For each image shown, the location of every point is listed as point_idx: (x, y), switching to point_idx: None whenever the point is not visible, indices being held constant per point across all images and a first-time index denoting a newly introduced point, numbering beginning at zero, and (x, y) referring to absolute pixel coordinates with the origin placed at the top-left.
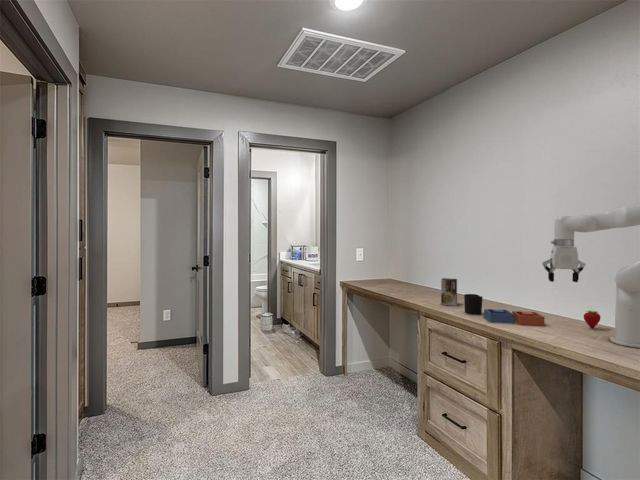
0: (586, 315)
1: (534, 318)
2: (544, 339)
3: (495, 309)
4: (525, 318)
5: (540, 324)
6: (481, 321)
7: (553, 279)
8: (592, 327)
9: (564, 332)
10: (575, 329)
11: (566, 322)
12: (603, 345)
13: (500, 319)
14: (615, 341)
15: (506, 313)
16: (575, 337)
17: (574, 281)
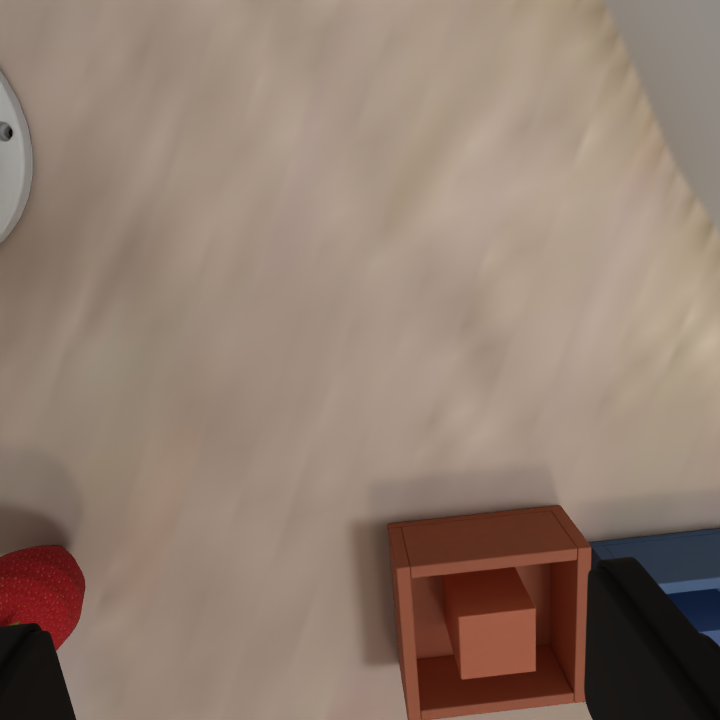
0: (57, 594)
1: (472, 548)
2: (538, 85)
3: None
4: (540, 538)
5: (417, 525)
6: None
7: (629, 594)
8: (53, 545)
9: (302, 367)
10: (189, 486)
11: (189, 676)
12: (129, 15)
13: (695, 546)
14: (8, 92)
15: None
16: (269, 227)
17: (60, 684)
